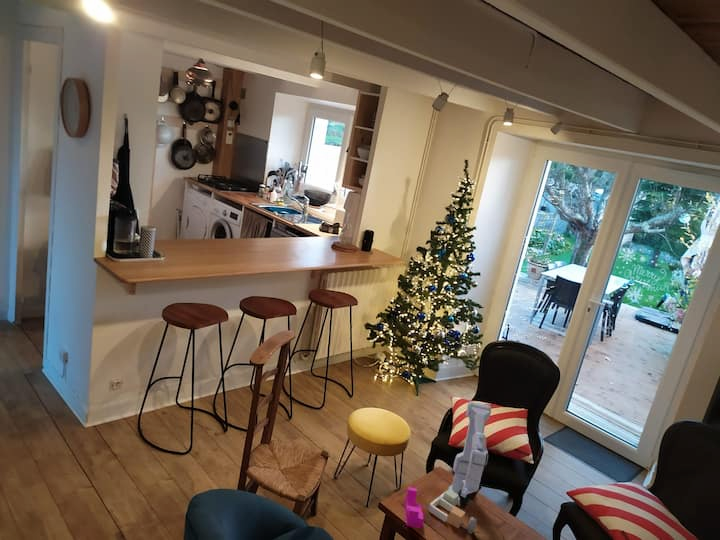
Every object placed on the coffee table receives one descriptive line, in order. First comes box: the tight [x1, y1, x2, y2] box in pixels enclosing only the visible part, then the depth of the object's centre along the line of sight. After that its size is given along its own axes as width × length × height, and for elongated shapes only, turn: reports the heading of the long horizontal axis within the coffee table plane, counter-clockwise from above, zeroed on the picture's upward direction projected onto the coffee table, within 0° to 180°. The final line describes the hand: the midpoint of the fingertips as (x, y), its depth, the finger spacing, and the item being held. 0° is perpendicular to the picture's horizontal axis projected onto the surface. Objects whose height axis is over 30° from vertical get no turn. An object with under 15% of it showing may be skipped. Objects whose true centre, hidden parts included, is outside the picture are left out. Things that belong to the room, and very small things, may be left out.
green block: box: [443, 488, 459, 507], centre depth 234 cm, size 4×5×6 cm
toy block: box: [404, 486, 424, 529], centre depth 224 cm, size 15×6×8 cm, turn 178°
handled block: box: [447, 506, 478, 535], centre depth 222 cm, size 4×11×6 cm, turn 56°
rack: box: [427, 490, 460, 523], centre depth 231 cm, size 16×9×3 cm, turn 140°
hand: (466, 503), depth 223 cm, fingers open, 7 cm apart
